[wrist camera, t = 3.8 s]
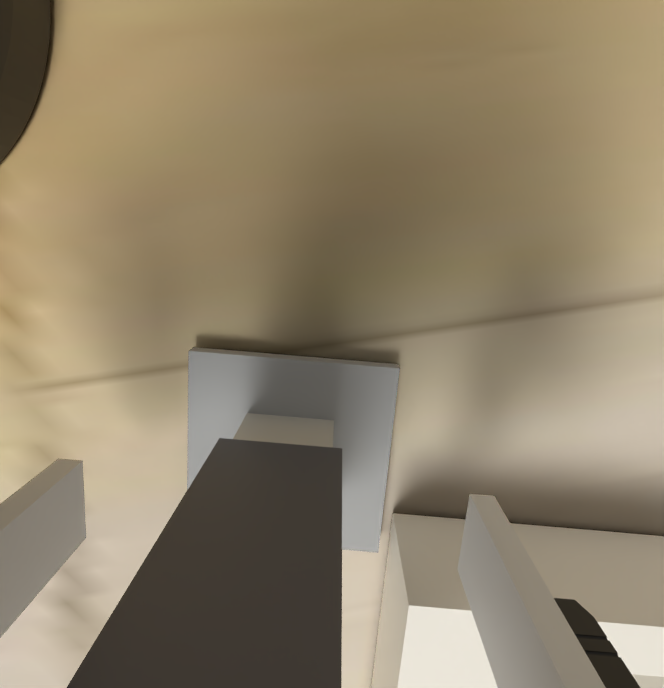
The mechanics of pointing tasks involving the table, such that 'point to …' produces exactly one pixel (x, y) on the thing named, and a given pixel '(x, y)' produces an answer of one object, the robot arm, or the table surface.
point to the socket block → (556, 571)
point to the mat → (306, 402)
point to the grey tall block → (239, 573)
